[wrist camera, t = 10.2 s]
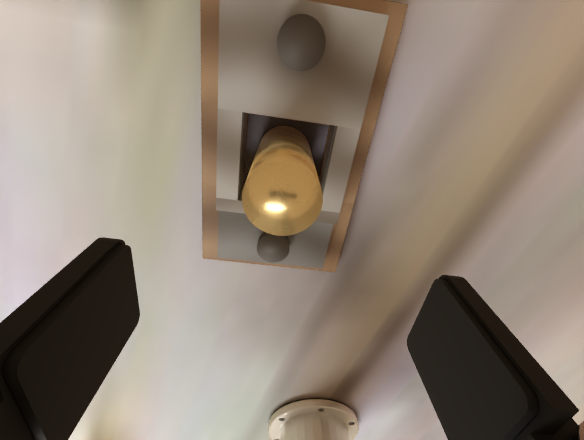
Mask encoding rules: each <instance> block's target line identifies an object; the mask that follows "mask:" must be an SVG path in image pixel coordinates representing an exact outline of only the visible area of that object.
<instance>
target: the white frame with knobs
mask: <svg viewBox="0 0 584 440" xmlns="http://www.w3.org/2000/svg"><path fill="white" fill-rule="evenodd" d="M407 7H408V5H407V4H402V3H397V2H391V1H386V0H201V109H202V230H203V258H204V259H214V260H223V261H233V262H243V263H252V264H262V265H272V266H281V267H291V268H300V269H310V270H320V271H329V272H336V268H337V264H338V261H339V257H340V253H341V250H342V246H343V242H344V239H345V235H346V231H347V228H348V224H349V220H350V216H351V213H352V209H353V205H354V202H355V198H356V194H357V191H358V187H359V183H360V180H361V176H362V172H363V169H364V165H365V161H366V158H367V154H368V150H369V147H370V143H371V139H372V136H373V132H374V128H375V124H376V121H377V117H378V113H379V110H380V106H381V102H382V99H383V95H384V91H385V88H386V84H387V80H388V77H389V73H390V69H391V66H392V62H393V58H394V55H395V51H396V47H397V44H398V40H399V36H400V33H401V29H402V25H403V21H404V18H405V14H406V10H407ZM248 113H252V114H259V115H265V116H272V117H279V118H286V119H293V120H299V121H306V122H313V123H320V124H327V125H329V129H328V134H327V139H326V145H325V150H324V155H323V160H322V165H321V170H320V175H319V182H320V186H321V190H322V194H323V204H322V209H321V212H320V214H319V216H318V217H317V219H316V220H315V222H314V223H313V224H312V225H311V226H309V227H308V228H307V229H305V230H303V231H302V232H299V233H297V234H293V235H288V236H277V235H272V234H269V233H266V232H264V231H262V230H260V229H258V228H257V227H256V226H255V225H253V224H252V223H251V221H250V220H249V219H248V217H247V216H246V214H245V212H244V209H243V206H242V191H243V188H244V185H245V184H243V183H244V168H245V152H246V137H247V122H248Z"/></svg>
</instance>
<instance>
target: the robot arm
mask: <svg viewBox="0 0 584 440" xmlns="http://www.w3.org/2000/svg"><path fill="white" fill-rule="evenodd" d="M139 317H140V311H139V303H138V296H137V289H136V282H135V274H134V267H133V260H132V253H131V248H130V246H128V245H125V242H124V241H123V240H120V239H111V238H98V239H97V240H96V241H94V242H93V243H92V244H91V245H90V246H89V247H88V248H86V249H85V250H84V251H83V252H82V253H81V254H79V255H78V256H77V257H76V258H75V259H74V260H73V261H71V262H70V263H69V264H68V265H67V266H66V267H64V268H63V269H62V270H61V271H60V272H59V273H57V274H56V275H55V276H54V277H53V278H52V279H51V280H49V281H48V282H47V283H46V284H45V285H44V286H42V287H41V288H40V289H39V290H38V291H37V292H36V293H34V294H33V295H32V296H31V297H30V298H29V299H27V300H26V301H25V302H24V303H23V304H22V305H20V306H19V307H18V308H17V309H16V310H15V311H14V312H12V313H11V314H10V315H9V316H8V317H7V318H5V319H4V320H3V321H2V322H1V323H0V440H68V439H69V437H70V435H71V434H72V432H73V430H74V429H75V427H76V426H77V424H78V422H79V421H80V419H81V417H82V416H83V414H84V412H85V411H86V409H87V407H88V406H89V404H90V402H91V401H92V399H93V397H94V396H95V394H96V392H97V391H98V389H99V387H100V386H101V384H102V382H103V381H104V379H105V377H106V376H107V374H108V372H109V371H110V369H111V367H112V366H113V364H114V362H115V361H116V359H117V357H118V356H119V354H120V352H121V351H122V349H123V347H124V346H125V344H126V342H127V341H128V339H129V337H130V336H131V334H132V332H133V331H134V329H135V327H136V326H137V324H138V321H139ZM407 346H408V350H409V352H410V354H411V357H412V359H413V361H414V363H415V366H416V368H417V370H418V373H419V375H420V377H421V379H422V382H423V384H424V386H425V388H426V391H427V393H428V395H429V398H430V400H431V402H432V404H433V407H434V409H435V411H436V413H437V416H438V418H439V420H440V423H441V425H442V427H443V429H444V432H445V434H446V436H447V438H448V440H584V421H583V422H582V423H581V424H580V425H577V423H576V422H575V421H574V420H573V419H572V417H573V416H574V415H575V414H576V413H577V412H578V411H579V409H578V408H577V407H576V406H575V405H574V404H573V403H572V401H571V400H570V399H569V398H568V397H567V396H566V394H565V393H564V392H563V391H562V390H561V389H560V388H559V386H558V385H557V384H556V383H555V382H554V381H553V380H552V378H551V377H550V376H549V375H548V374H547V373H546V371H545V370H544V369H543V368H542V367H541V366H540V365H539V363H538V362H537V361H536V360H535V359H534V358H533V357H532V355H531V354H530V353H529V352H528V351H527V350H526V348H525V347H524V346H523V345H522V344H521V343H520V342H519V340H518V339H517V338H516V337H515V336H514V335H513V334H512V332H511V331H510V330H509V329H508V328H507V327H506V325H505V324H504V323H503V322H502V321H501V320H500V319H499V317H498V316H497V315H496V314H495V313H494V312H493V311H492V309H491V308H490V307H489V306H488V305H487V304H486V302H485V301H484V300H483V299H482V298H481V297H480V296H479V294H478V293H477V292H476V291H475V290H474V289H473V288H472V286H471V285H470V284H469V283H468V282H467V281H466V280H465V279H464V278H463V277H458V276H449V275H442V276H441V277H439V279H436V280H435V281H434V282H433V284H432V286H431V288H430V291H429V293H428V295H427V297H426V299H425V301H424V303H423V306H422V308H421V310H420V312H419V314H418V316H417V318H416V321H415V323H414V325H413V327H412V329H411V331H410V333H409V335H408V338H407ZM358 430H359V427H358V421H357V417H356V415H355V413H354V412H353V411H352V410H351V409H350V408H348V407H347V406H345V405H343V404H341V403H338V402H335V401H330V400H323V399H308V400H301V401H297V402H293V403H290V404H288V405H285V406H283V407H282V408H280V409H279V410H277V411H276V412H275V413H274V414H273V415H272V417H271V418H270V421H269V427H268V433H269V437H270V438H271V440H353V439H354V438H355V437H356V435H357V433H358Z"/></svg>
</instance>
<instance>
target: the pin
mask: <svg viewBox="0 0 584 440" xmlns="http://www.w3.org/2000/svg"><path fill="white" fill-rule="evenodd" d="M322 204H323V194H322V190H321V186H320V182H319V179H318V175H317V171H316V168H315V164H314V161H313V157H312V153H311V150H310V146H309V143H308V141H307V139H306V137H305V136H304V135H303V134H302V133H301V132H300V131H299V130H297V129H295V128H293V127H290V126H278V127H275V128H273V129H271V130H269V131H268V132H267V133H266V134H265V135H264V136H263V137H262V139H261V141H260V144H259V146H258V149H257V152H256V155H255V157H254V160H253V163H252V166H251V168H250V171H249V174H248V176H247V179H246V182H245V185H244V188H243V191H242V206H243V209H244V212H245V214H246V216H247V217H248V219H249V220H250V221H251V223H252V224H253V225H255V226H256V227H257V228H258V229H260V230H262V231H264V232H266V233H269V234H272V235H277V236H288V235H293V234H297V233H299V232H302V231H303V230H305V229H307V228H308V227H309V226H311V225H312V224H313V223H314V222H315V220H316V219H317V217H318V216H319V214H320V212H321V209H322Z"/></svg>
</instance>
